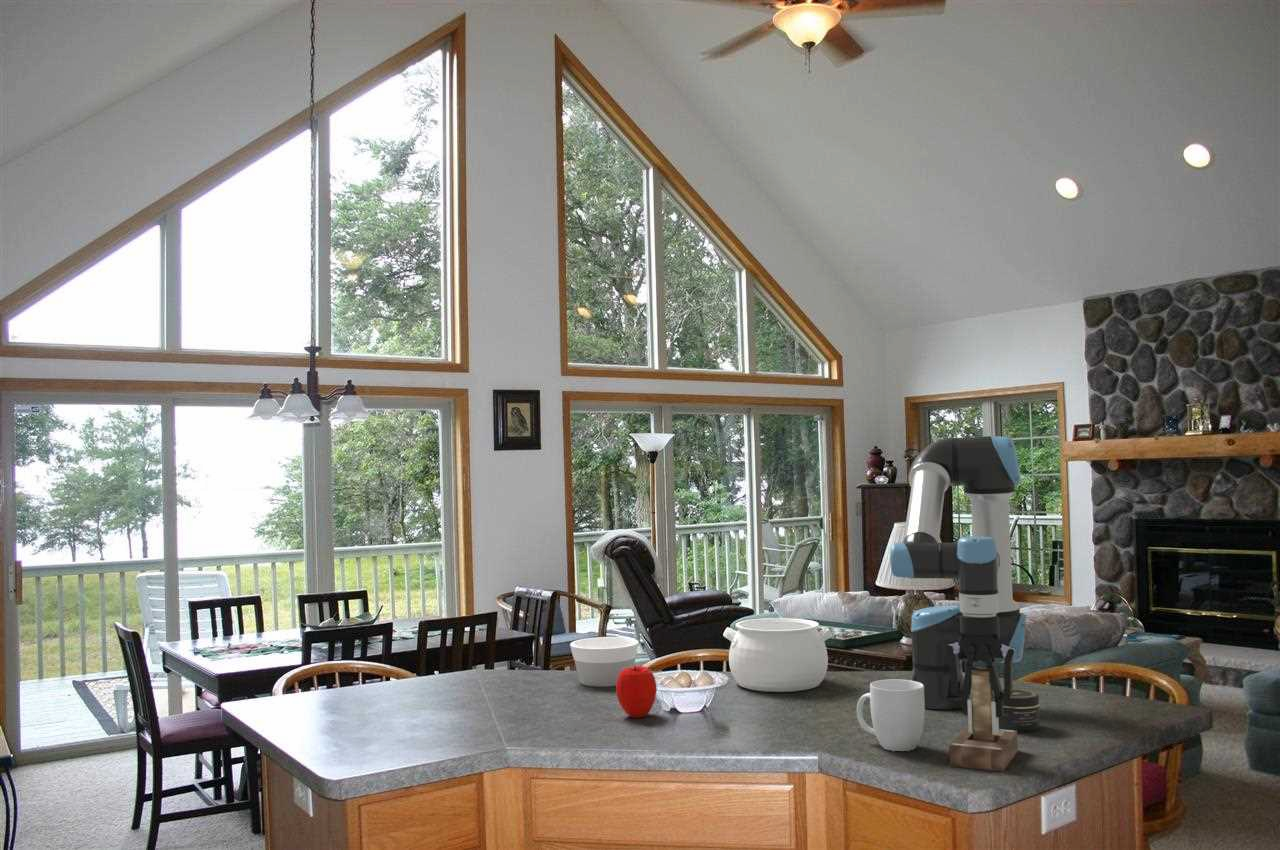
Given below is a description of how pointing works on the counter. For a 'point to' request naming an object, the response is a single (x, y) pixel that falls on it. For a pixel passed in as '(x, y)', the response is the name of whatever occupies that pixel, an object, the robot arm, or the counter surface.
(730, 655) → the pot
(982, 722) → the dowel
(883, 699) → the mug
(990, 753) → the socket board
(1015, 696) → the jar
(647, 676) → the apple
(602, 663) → the bowl
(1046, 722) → the counter surface
